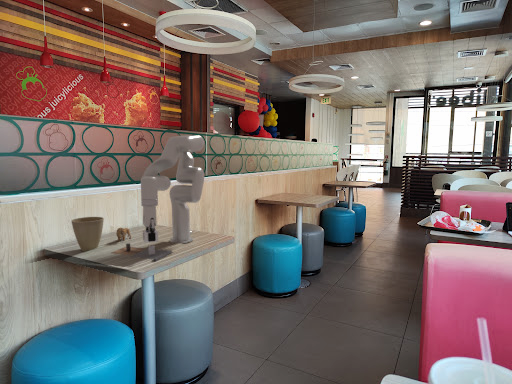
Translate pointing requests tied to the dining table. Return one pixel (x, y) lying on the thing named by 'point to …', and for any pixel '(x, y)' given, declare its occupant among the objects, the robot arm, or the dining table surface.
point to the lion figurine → (123, 233)
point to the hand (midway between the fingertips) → (150, 239)
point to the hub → (152, 253)
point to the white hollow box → (145, 236)
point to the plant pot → (88, 231)
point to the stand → (128, 250)
